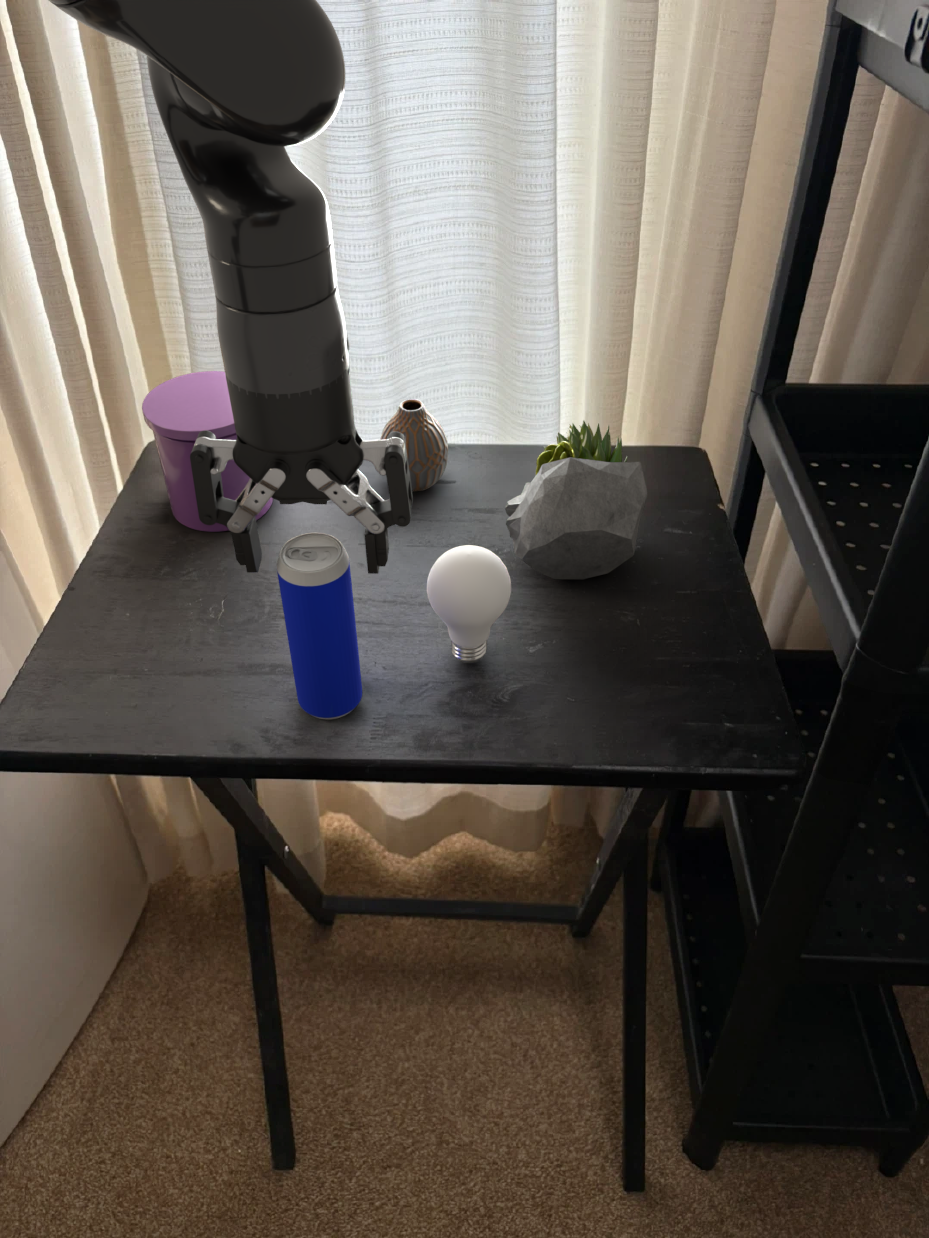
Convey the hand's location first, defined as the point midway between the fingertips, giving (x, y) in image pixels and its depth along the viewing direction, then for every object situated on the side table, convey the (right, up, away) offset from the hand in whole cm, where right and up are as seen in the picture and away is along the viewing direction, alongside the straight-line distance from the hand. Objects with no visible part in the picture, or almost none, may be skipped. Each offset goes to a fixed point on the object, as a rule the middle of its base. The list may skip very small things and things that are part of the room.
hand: (315, 566), depth 73 cm
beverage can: (0, -10, +9) cm, 14 cm away
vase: (+6, +10, +32) cm, 34 cm away
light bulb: (+11, -7, +13) cm, 18 cm away
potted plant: (+20, +3, +24) cm, 31 cm away
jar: (-14, +8, +30) cm, 33 cm away
